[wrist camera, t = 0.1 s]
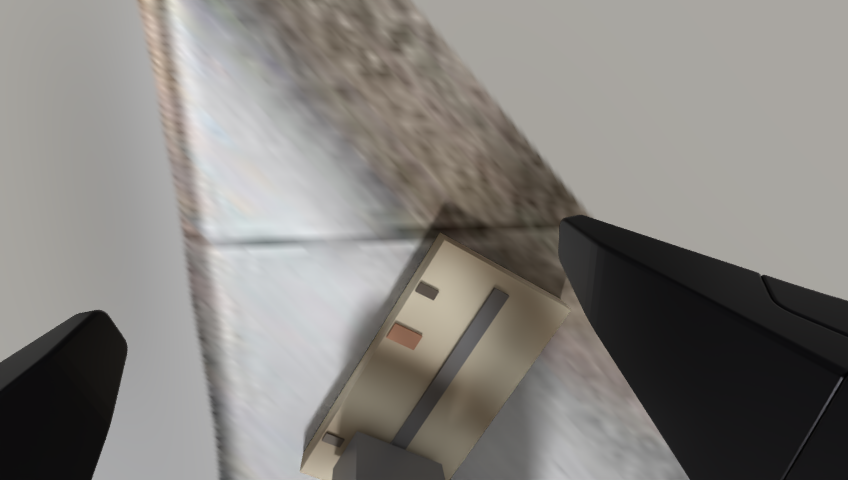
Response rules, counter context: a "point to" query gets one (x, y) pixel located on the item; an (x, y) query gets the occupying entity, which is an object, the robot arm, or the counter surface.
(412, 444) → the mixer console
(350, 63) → the counter surface
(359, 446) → the fader knob
